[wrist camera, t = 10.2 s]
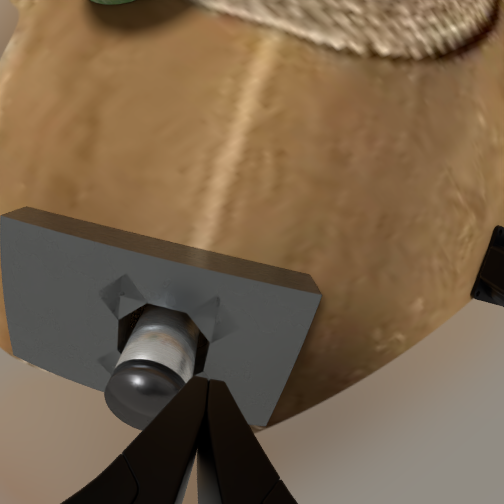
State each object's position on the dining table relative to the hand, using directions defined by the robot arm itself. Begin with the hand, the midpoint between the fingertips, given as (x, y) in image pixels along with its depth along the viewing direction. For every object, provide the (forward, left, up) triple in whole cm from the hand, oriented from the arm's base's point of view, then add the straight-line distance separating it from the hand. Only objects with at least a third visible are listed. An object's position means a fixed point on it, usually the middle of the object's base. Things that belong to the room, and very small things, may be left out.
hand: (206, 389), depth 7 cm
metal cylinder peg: (+2, +6, -12) cm, 13 cm away
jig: (+4, +6, -12) cm, 14 cm away
